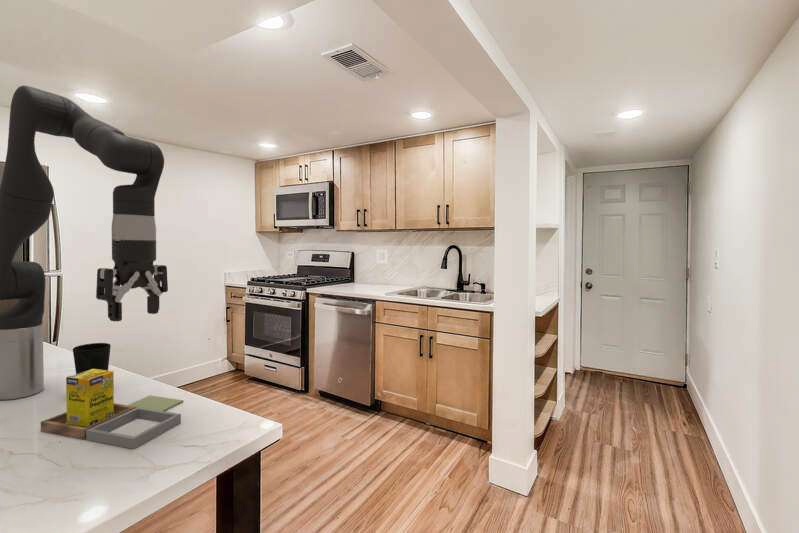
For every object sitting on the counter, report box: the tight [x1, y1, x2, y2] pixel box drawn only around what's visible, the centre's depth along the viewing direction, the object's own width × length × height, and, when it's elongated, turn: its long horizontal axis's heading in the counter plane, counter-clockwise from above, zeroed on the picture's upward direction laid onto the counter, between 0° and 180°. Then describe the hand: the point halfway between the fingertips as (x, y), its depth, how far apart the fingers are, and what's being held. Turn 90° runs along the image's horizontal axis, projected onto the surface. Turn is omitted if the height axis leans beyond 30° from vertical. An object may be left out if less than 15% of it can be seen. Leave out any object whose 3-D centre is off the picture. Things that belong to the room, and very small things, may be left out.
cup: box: [72, 342, 112, 375], centre depth 102 cm, size 8×8×12 cm
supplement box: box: [65, 369, 115, 428], centre depth 85 cm, size 6×6×11 cm
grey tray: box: [85, 407, 182, 450], centre depth 83 cm, size 12×12×2 cm
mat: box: [127, 394, 184, 412], centre depth 95 cm, size 10×8×1 cm
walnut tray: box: [40, 402, 136, 441], centre depth 85 cm, size 12×12×2 cm
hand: (135, 317), depth 81 cm, fingers open, 8 cm apart
